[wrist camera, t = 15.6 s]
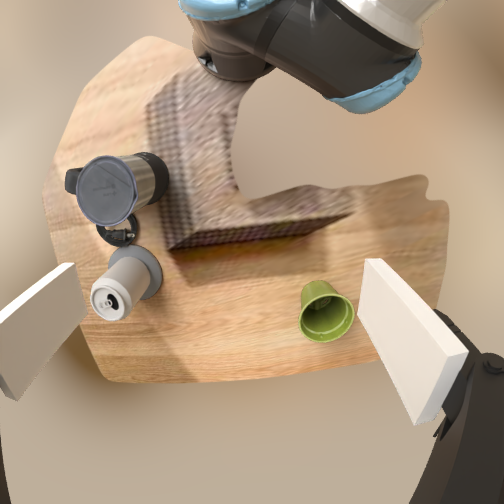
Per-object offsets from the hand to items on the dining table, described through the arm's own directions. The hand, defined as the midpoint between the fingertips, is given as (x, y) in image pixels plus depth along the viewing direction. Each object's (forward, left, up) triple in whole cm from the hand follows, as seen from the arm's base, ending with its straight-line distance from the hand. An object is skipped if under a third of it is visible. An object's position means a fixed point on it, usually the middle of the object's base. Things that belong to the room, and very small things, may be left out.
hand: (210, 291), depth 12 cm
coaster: (+15, -21, -37) cm, 45 cm away
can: (+15, -21, -36) cm, 44 cm away
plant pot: (+20, +13, -37) cm, 44 cm away
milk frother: (+1, -19, -37) cm, 42 cm away
